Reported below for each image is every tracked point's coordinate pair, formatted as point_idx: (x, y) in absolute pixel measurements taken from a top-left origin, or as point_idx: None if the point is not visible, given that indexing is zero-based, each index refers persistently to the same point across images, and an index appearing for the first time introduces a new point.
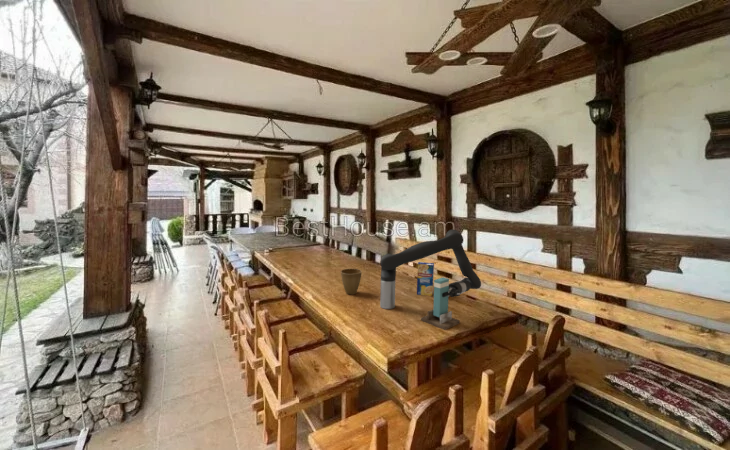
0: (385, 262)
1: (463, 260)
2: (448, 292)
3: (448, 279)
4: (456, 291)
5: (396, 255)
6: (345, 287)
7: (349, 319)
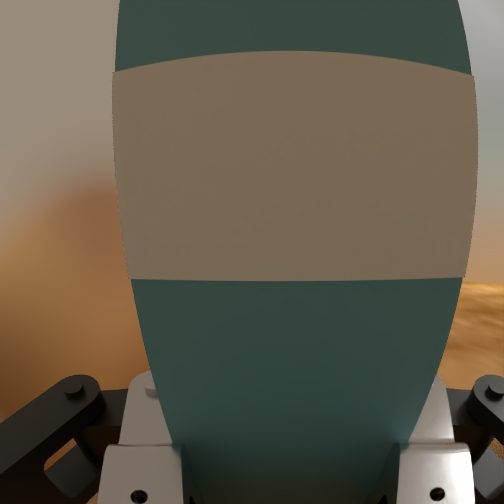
0: None
1: None
2: (147, 381)
3: (136, 8)
4: None
5: None
6: None
7: (472, 288)
